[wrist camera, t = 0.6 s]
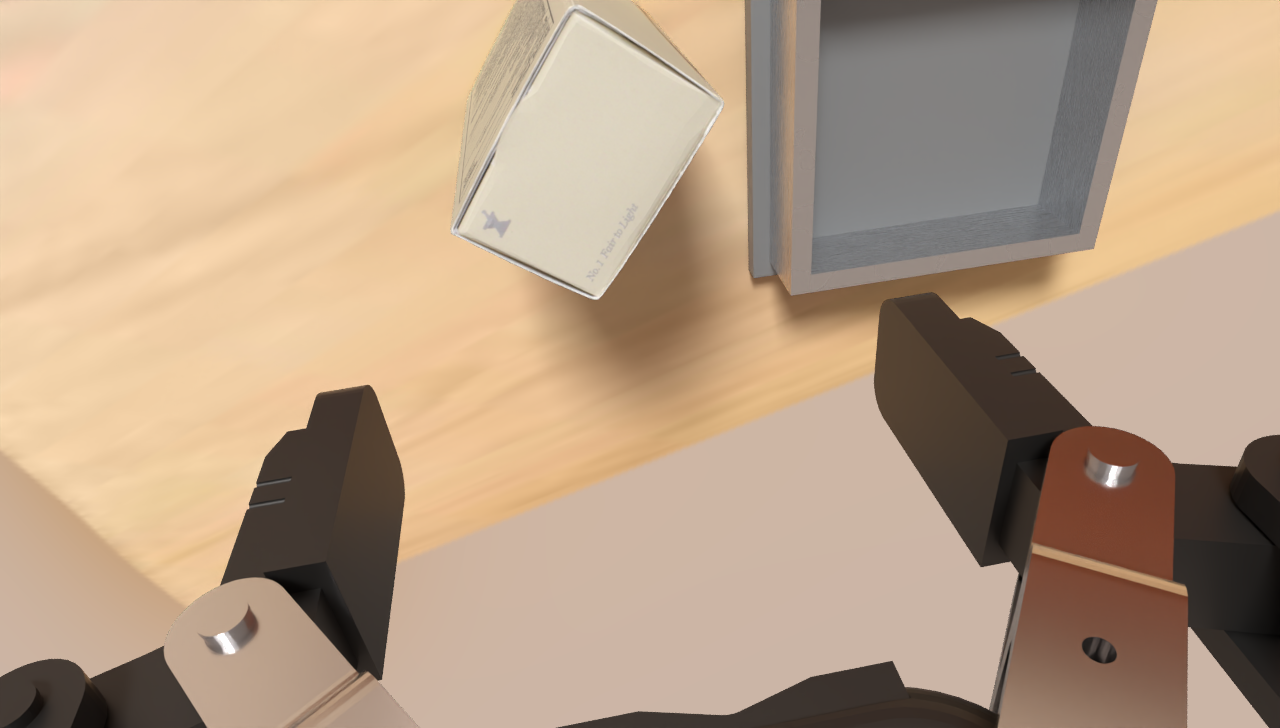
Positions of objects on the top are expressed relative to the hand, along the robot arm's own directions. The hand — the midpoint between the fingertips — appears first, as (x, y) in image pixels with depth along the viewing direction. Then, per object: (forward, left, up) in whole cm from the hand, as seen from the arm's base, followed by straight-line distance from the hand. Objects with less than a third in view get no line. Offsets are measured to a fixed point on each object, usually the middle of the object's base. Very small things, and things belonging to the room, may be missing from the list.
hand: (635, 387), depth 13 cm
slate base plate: (-14, +3, -20) cm, 25 cm away
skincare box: (0, 0, -20) cm, 20 cm away
